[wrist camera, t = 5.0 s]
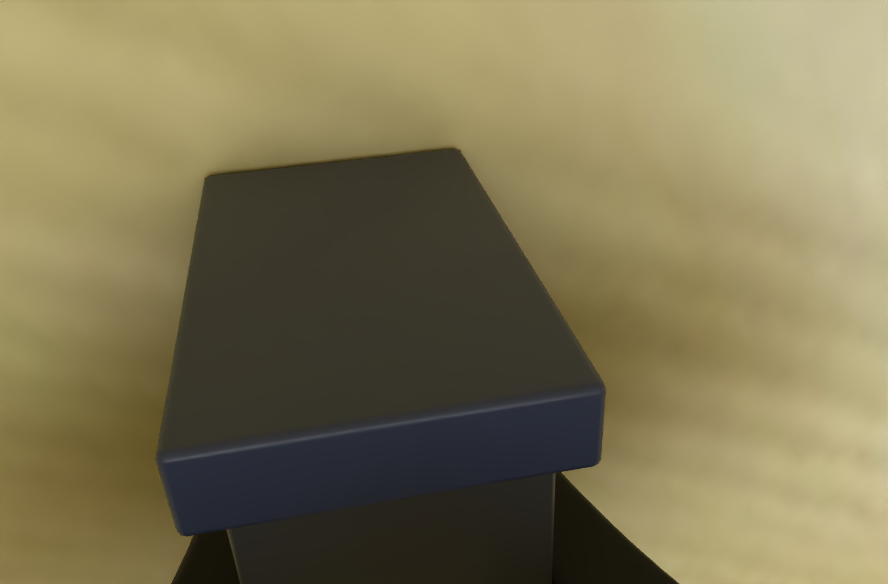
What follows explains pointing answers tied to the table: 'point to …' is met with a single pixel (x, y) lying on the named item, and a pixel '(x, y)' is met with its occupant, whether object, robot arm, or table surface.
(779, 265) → the table surface
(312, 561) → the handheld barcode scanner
